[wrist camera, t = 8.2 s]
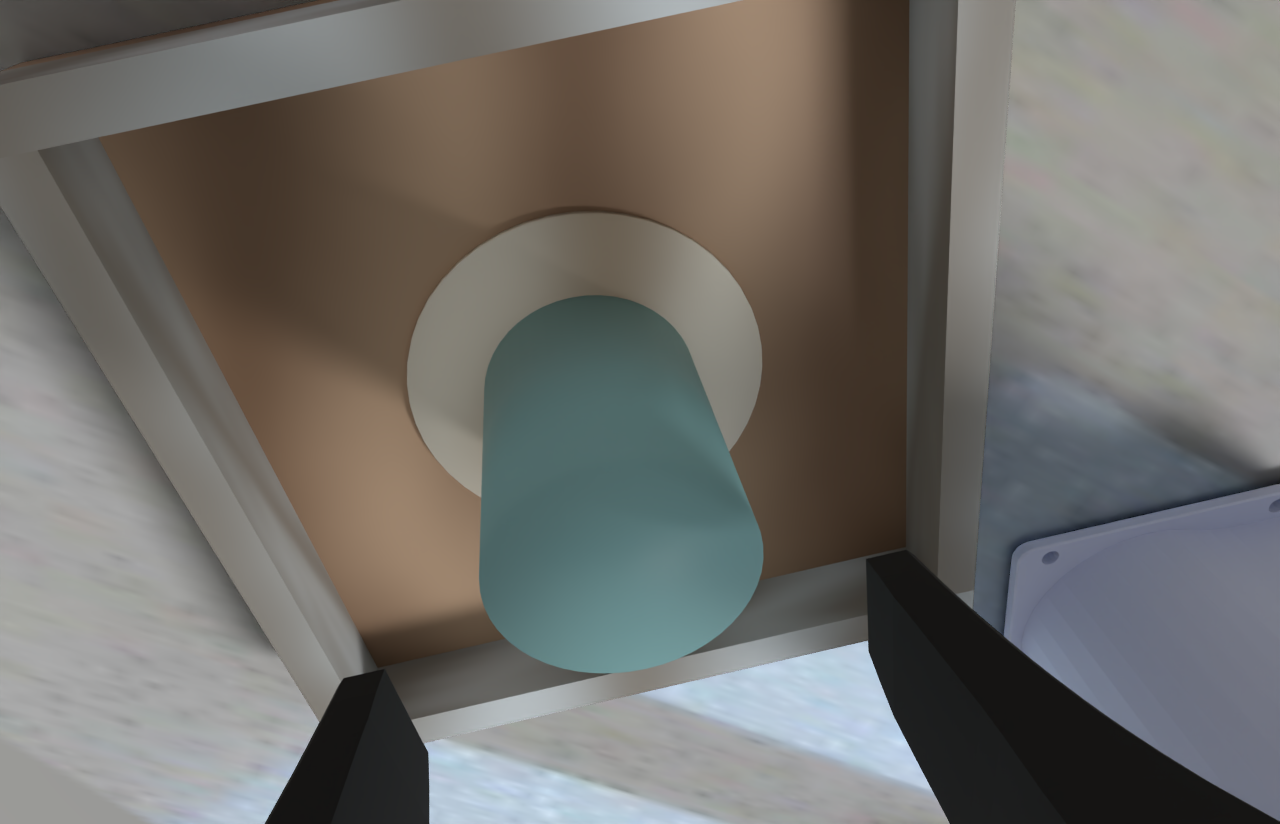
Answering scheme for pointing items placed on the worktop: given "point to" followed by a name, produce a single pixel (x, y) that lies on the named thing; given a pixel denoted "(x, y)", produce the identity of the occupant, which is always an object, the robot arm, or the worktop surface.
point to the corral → (528, 291)
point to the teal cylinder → (608, 493)
